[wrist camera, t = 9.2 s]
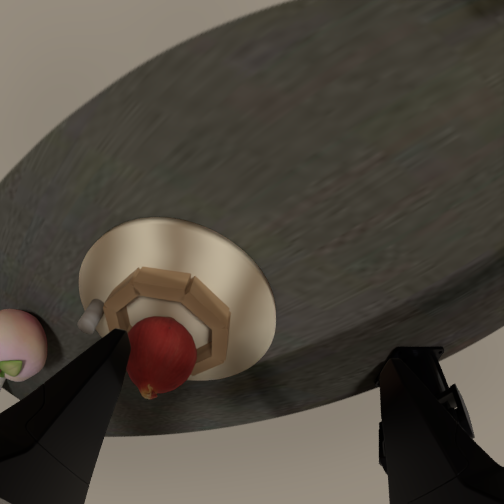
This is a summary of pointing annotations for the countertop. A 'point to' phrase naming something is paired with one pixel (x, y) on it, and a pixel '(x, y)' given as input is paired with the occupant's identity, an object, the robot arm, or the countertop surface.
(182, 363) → the onion
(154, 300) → the flange plate
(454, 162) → the countertop surface
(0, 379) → the white cup
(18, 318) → the decorative fruit
